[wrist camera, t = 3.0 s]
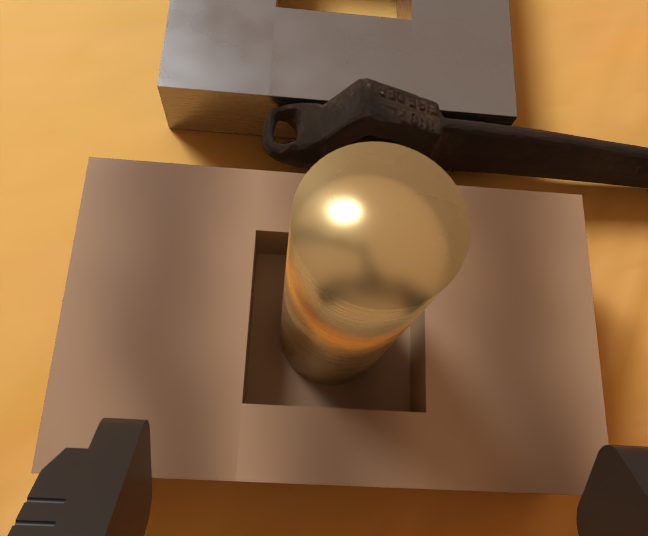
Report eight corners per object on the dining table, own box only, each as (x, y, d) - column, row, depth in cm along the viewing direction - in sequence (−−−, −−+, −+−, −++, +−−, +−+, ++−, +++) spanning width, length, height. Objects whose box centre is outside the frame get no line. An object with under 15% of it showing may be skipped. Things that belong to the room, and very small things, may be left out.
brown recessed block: (77, 474, 22) (31, 472, 17) (119, 211, 25) (89, 156, 21) (549, 493, 23) (614, 496, 19) (530, 240, 26) (582, 194, 22)
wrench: (895, 323, 29) (249, 243, 25) (866, 224, 31) (261, 136, 27) (1032, 285, 24) (258, 178, 20) (986, 171, 26) (272, 53, 22)
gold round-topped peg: (276, 382, 21) (285, 303, 12) (282, 281, 22) (295, 134, 13) (381, 388, 21) (473, 315, 12) (382, 287, 22) (467, 148, 13)
